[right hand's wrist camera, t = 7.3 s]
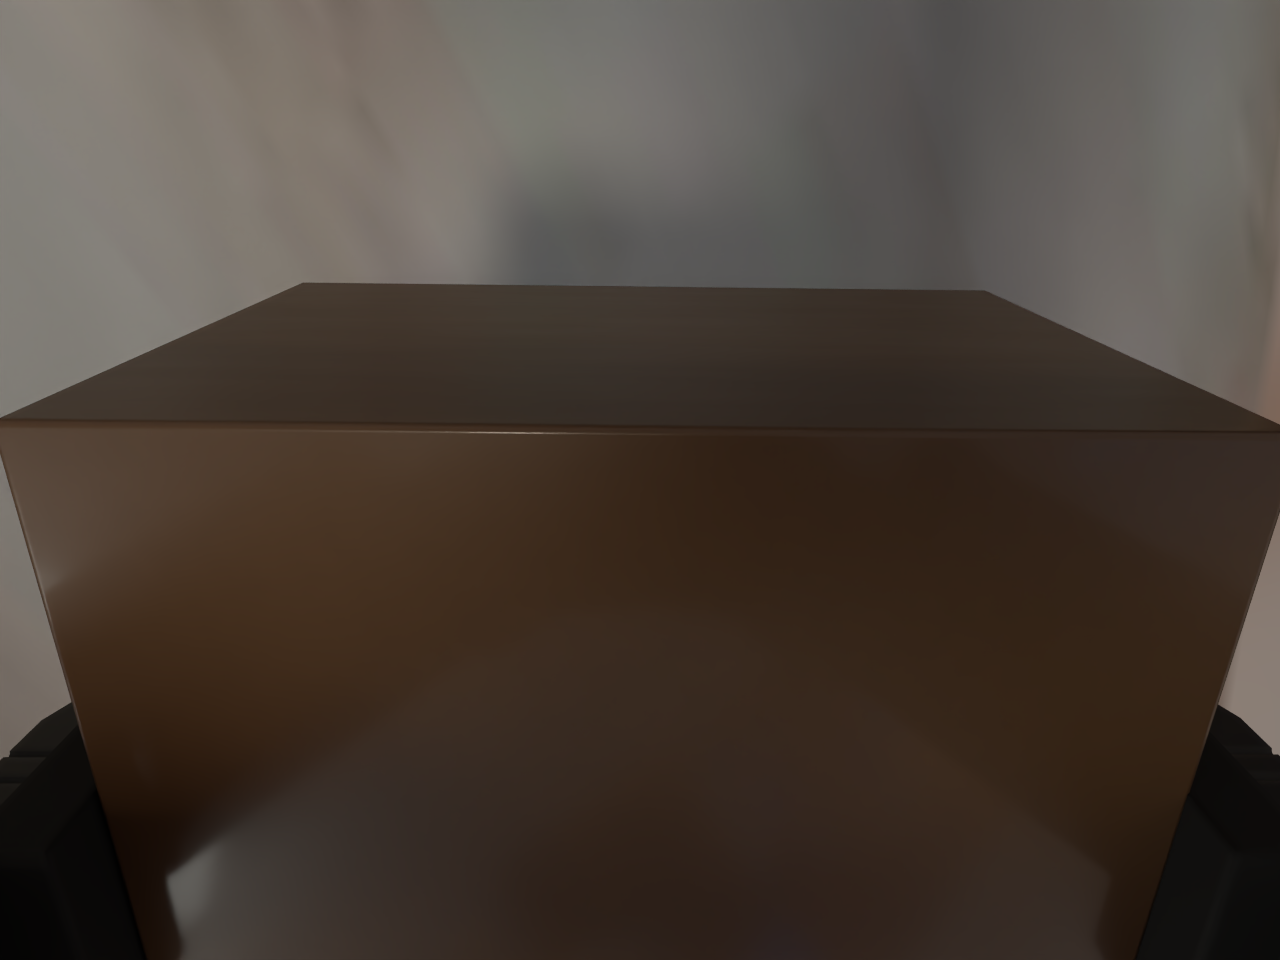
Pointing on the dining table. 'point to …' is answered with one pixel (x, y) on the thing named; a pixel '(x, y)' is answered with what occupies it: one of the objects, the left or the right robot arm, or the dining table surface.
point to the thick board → (642, 622)
